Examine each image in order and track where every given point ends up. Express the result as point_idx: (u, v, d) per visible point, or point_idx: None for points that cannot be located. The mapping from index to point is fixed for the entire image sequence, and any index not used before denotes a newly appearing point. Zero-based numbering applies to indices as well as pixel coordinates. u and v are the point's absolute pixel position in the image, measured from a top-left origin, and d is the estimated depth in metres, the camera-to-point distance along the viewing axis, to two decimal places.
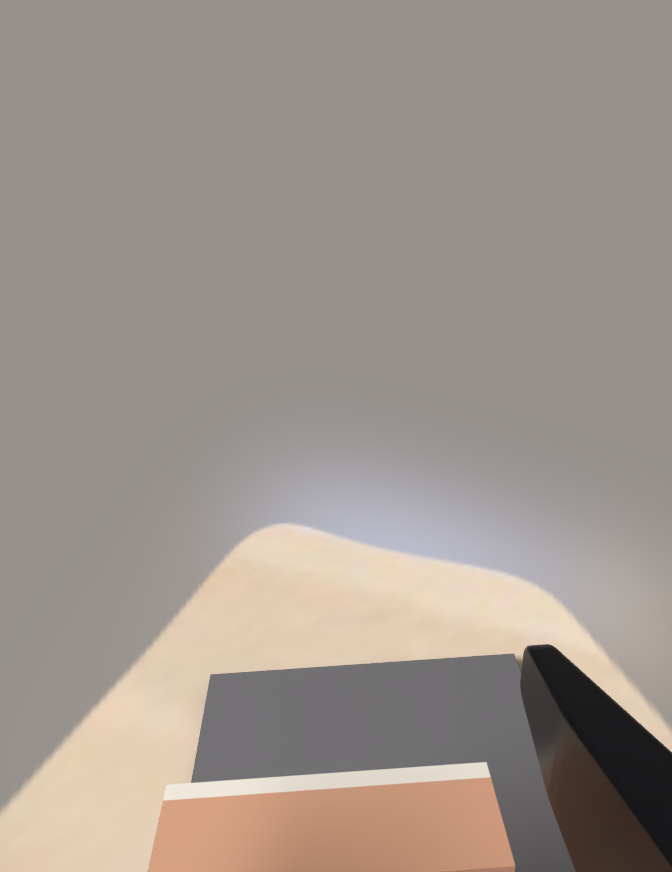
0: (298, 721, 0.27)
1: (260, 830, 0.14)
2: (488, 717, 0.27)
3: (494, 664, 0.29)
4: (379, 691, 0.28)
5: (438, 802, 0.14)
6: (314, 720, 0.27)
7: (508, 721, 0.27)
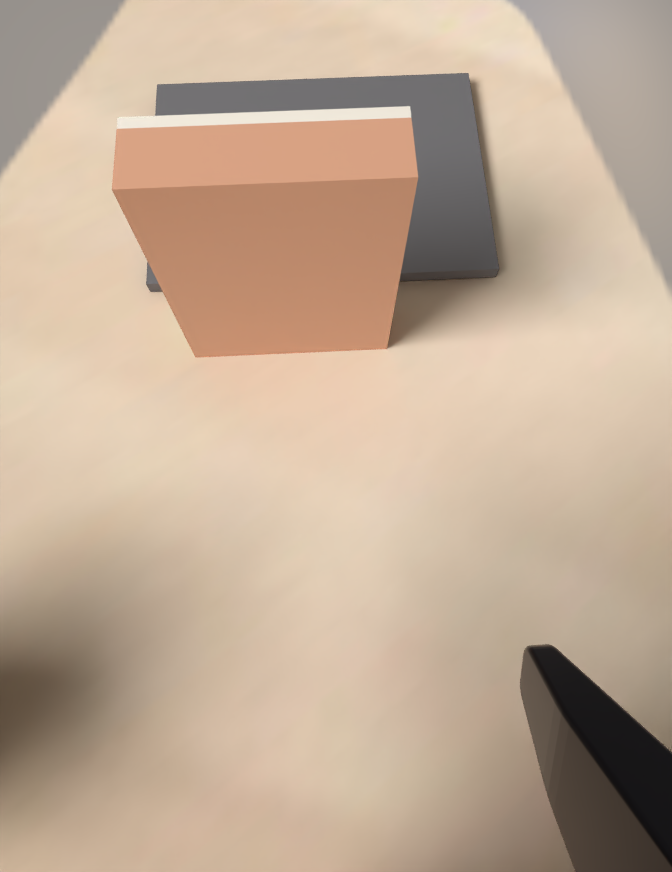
0: None
1: (206, 151, 0.16)
2: (430, 131, 0.28)
3: (446, 83, 0.29)
4: (328, 105, 0.29)
5: (362, 134, 0.16)
6: None
7: (448, 135, 0.28)
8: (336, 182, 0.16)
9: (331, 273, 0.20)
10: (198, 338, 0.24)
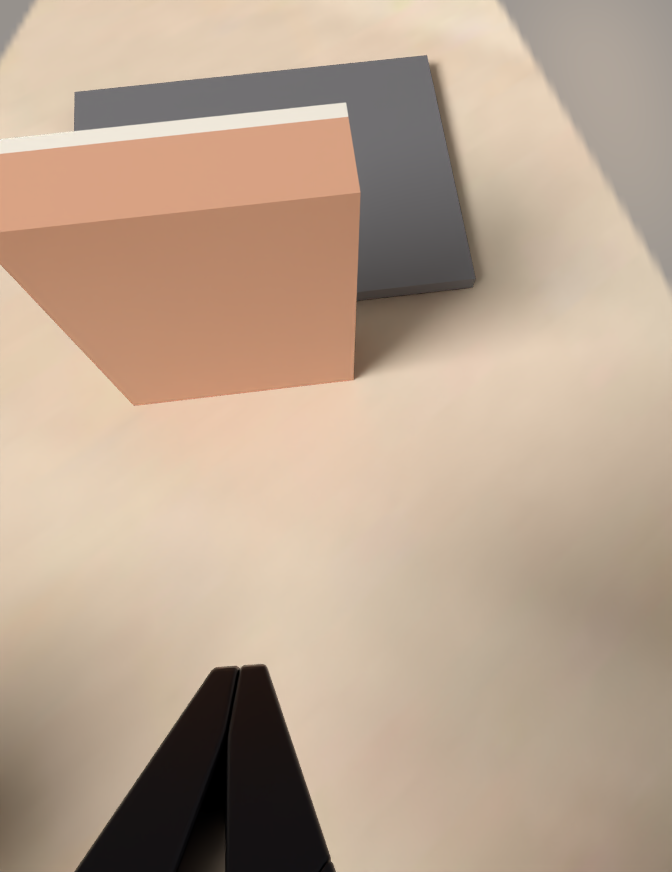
0: None
1: (91, 177, 0.13)
2: (388, 124, 0.25)
3: (403, 68, 0.26)
4: (270, 103, 0.25)
5: (287, 142, 0.13)
6: None
7: (409, 127, 0.25)
8: (257, 206, 0.13)
9: (273, 307, 0.17)
10: (131, 387, 0.20)
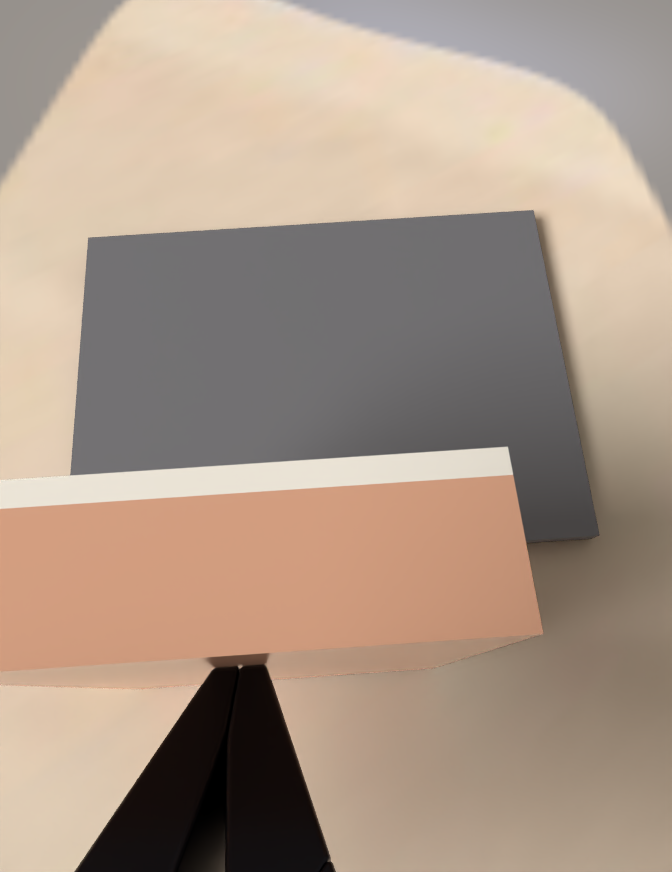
0: (219, 308, 0.19)
1: (81, 570, 0.08)
2: (483, 304, 0.19)
3: (502, 226, 0.20)
4: (334, 265, 0.20)
5: (413, 520, 0.08)
6: (241, 306, 0.19)
7: (510, 310, 0.19)
8: (361, 647, 0.07)
9: (348, 664, 0.11)
10: (133, 687, 0.15)
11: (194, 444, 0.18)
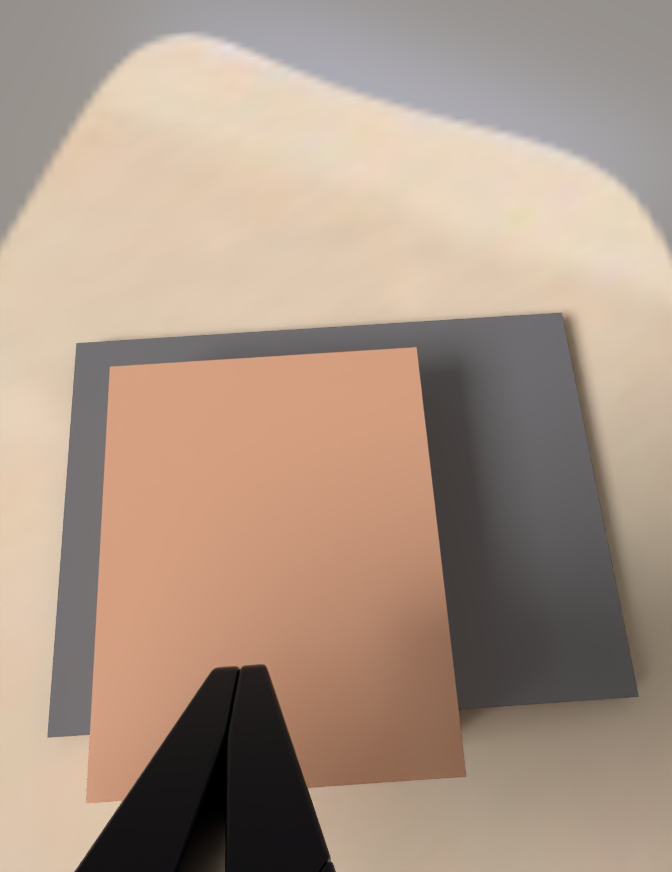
0: None
1: None
2: (508, 422, 0.18)
3: (528, 331, 0.19)
4: None
5: None
6: None
7: (537, 429, 0.18)
8: (334, 355, 0.16)
9: (339, 513, 0.15)
10: (111, 717, 0.13)
11: None
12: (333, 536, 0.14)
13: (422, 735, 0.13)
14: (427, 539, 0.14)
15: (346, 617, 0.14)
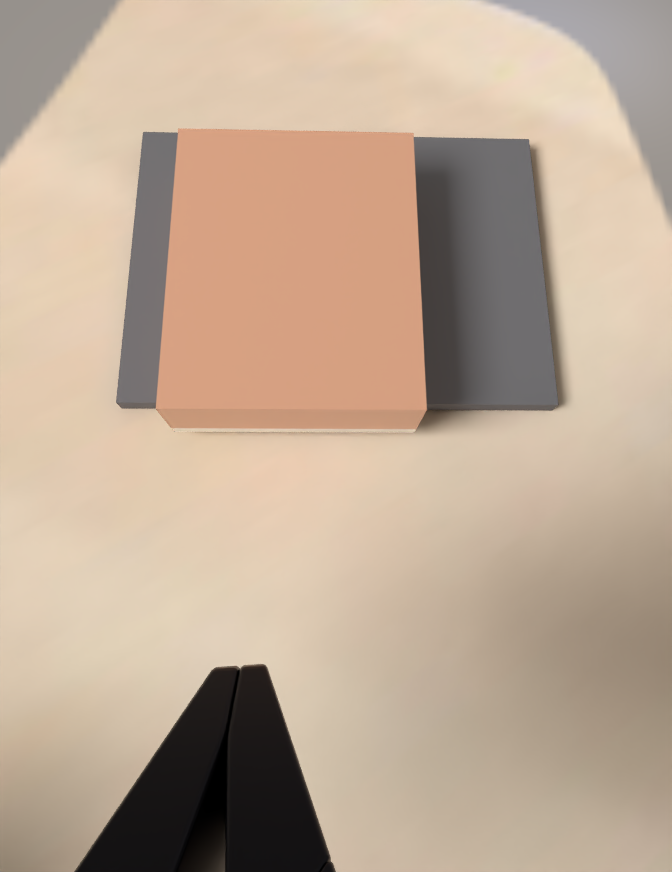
0: None
1: None
2: (480, 214, 0.23)
3: (501, 151, 0.24)
4: None
5: None
6: None
7: (502, 221, 0.23)
8: (350, 133, 0.21)
9: (347, 240, 0.20)
10: (174, 358, 0.18)
11: None
12: (342, 254, 0.19)
13: (397, 383, 0.18)
14: (411, 261, 0.19)
15: (348, 306, 0.19)
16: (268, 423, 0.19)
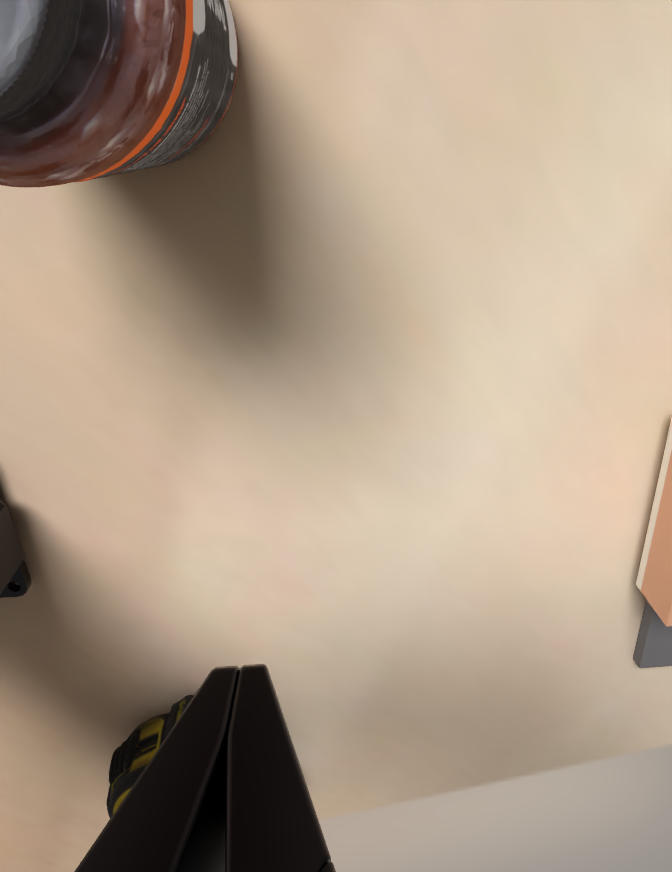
0: None
1: None
2: None
3: None
4: None
5: None
6: None
7: None
8: None
9: None
10: None
11: None
12: None
13: None
14: None
15: None
16: (670, 500, 0.22)
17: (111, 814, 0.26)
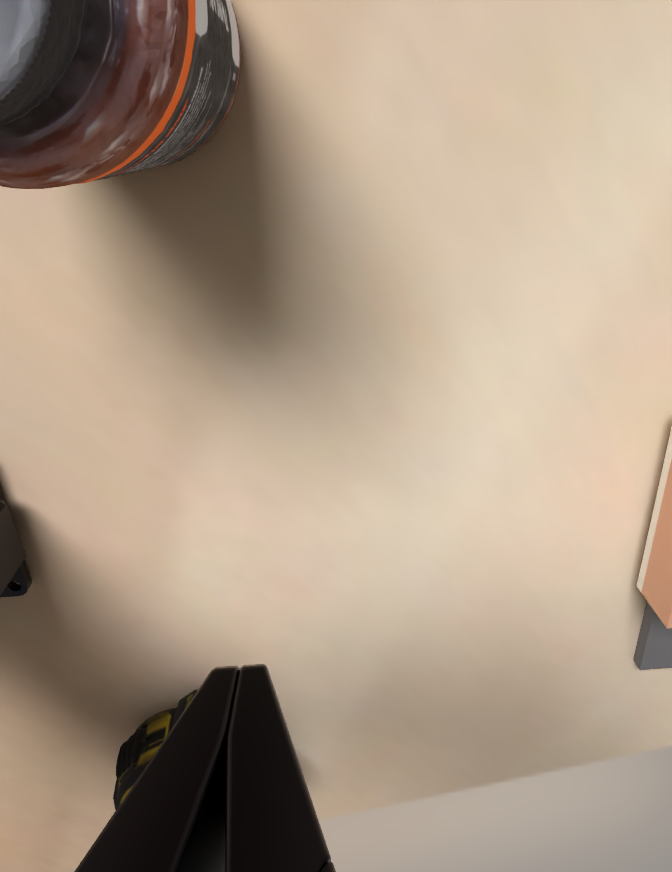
0: None
1: None
2: None
3: None
4: None
5: None
6: None
7: None
8: None
9: None
10: None
11: None
12: None
13: None
14: None
15: None
16: (671, 502, 0.22)
17: None
